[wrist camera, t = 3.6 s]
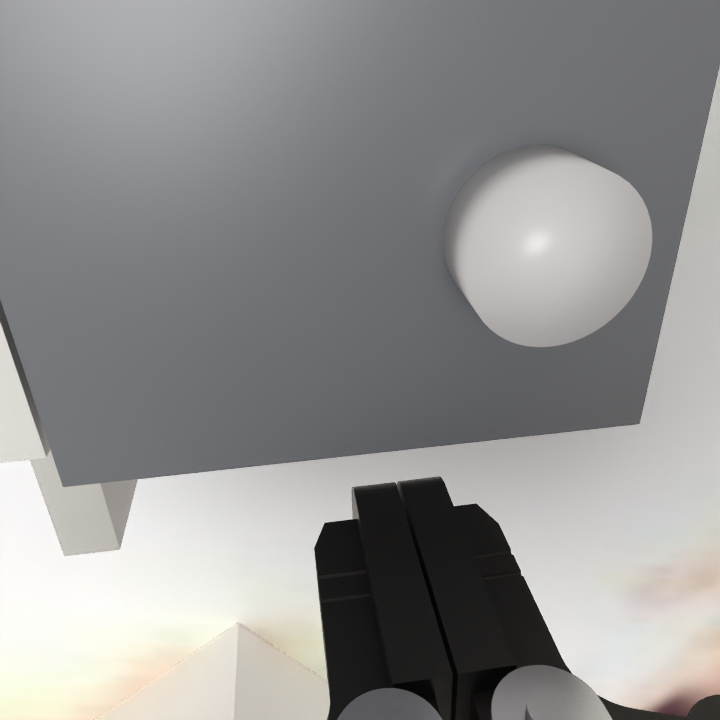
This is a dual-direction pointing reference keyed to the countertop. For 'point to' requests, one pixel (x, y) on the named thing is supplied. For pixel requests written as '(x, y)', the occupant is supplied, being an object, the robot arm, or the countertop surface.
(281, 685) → the milk
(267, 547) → the countertop surface
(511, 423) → the camera body
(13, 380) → the side door
